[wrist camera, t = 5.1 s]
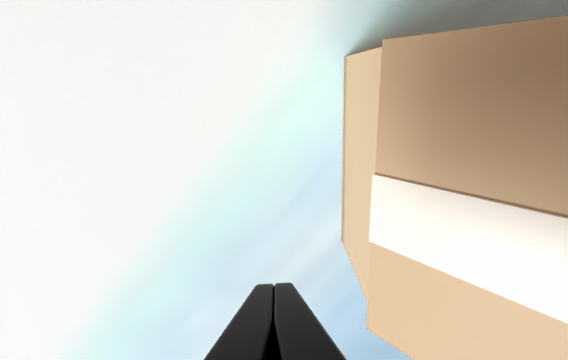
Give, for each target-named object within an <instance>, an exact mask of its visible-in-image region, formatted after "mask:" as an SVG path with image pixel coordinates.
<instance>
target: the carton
mask: <svg viewBox="0 0 568 360" xmlns="http://www.w3.org/2000/svg"><path fill="white" fill-rule="evenodd" d="M381 56H382V47H378V48H375V49H371V50H367V51H364V52H360V53H356V54H352V55H349V56H345V72H344V129H343V186H342V242H343V245H344V247H345V250H346V252H347V254H348V257H349V259H350V261H351V264H352V266H353V269H354V271H355V273H356V276H357V278H358V281H359V283H360V285H361V288H362V290H363V292H364V295H365V297H366V300H367V302H368V292H369V274H370V256H371V242H370V241H369V228H370V209H371V189H372V174H375V165H376V147H377V128H378V110H379V92H380V74H381Z"/></svg>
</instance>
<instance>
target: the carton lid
mask: <svg viewBox="0 0 568 360" xmlns="http://www.w3.org/2000/svg"><path fill="white" fill-rule="evenodd" d="M369 241H370V242H371V256H370V274H369V292H368V310H367V328H366V329H368V330H369V331H371V332H372V333H374V334H375V335H377V336H378V337H380V338H382V339H383V340H385V341H386V342H388V343H389V344H391V345H392V346H394V347H395V348H397V349H398V350H400V351H401V352H403V353H404V354H406V355H407V356H409V357H410V358H412V359H414V360H568V15H564V16H557V17H549V18H542V19H534V20H527V21H519V22H512V23H504V24H496V25H489V26H481V27H474V28H466V29H459V30H451V31H444V32H436V33H428V34H421V35H413V36H406V37H398V38H391V39H383V40H382V56H381V74H380V92H379V110H378V128H377V147H376V165H375V174H372V189H371V209H370V228H369Z"/></svg>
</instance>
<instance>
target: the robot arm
mask: <svg viewBox="0 0 568 360" xmlns="http://www.w3.org/2000/svg"><path fill="white" fill-rule="evenodd" d="M204 360H346V358H345V357H344V355H343V354H342V353H341V351H340V350H339V348H338V347H337V346H336V344H335V343H334V342H333V340H332V339H331V337H330V336H329V335H328V333H327V332H326V330H325V329H324V328H323V326H322V325H321V323H320V322H319V321H318V319H317V318H316V316H315V315H314V314H313V312H312V311H311V309H310V308H309V307H308V305H307V304H306V302H305V301H304V300H303V298H302V297H301V295H300V294H299V293H298V291H297V290H296V288H295V287H294V286H293V284H292V283H276V284H275V285H273V284H259V285H256V286H255V288H254V289H253V290H252V292H251V293H250V295H249V296H248V298H247V299H246V300H245V302H244V303H243V305H242V306H241V307H240V309H239V310H238V312H237V313H236V315H235V316H234V317H233V319H232V320H231V322H230V323H229V325H228V326H227V327H226V329H225V330H224V332H223V333H222V335H221V336H220V337H219V339H218V340H217V342H216V343H215V344H214V346H213V347H212V349H211V350H210V352H209V353H208V354H207V356H206V357H205V359H204Z"/></svg>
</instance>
